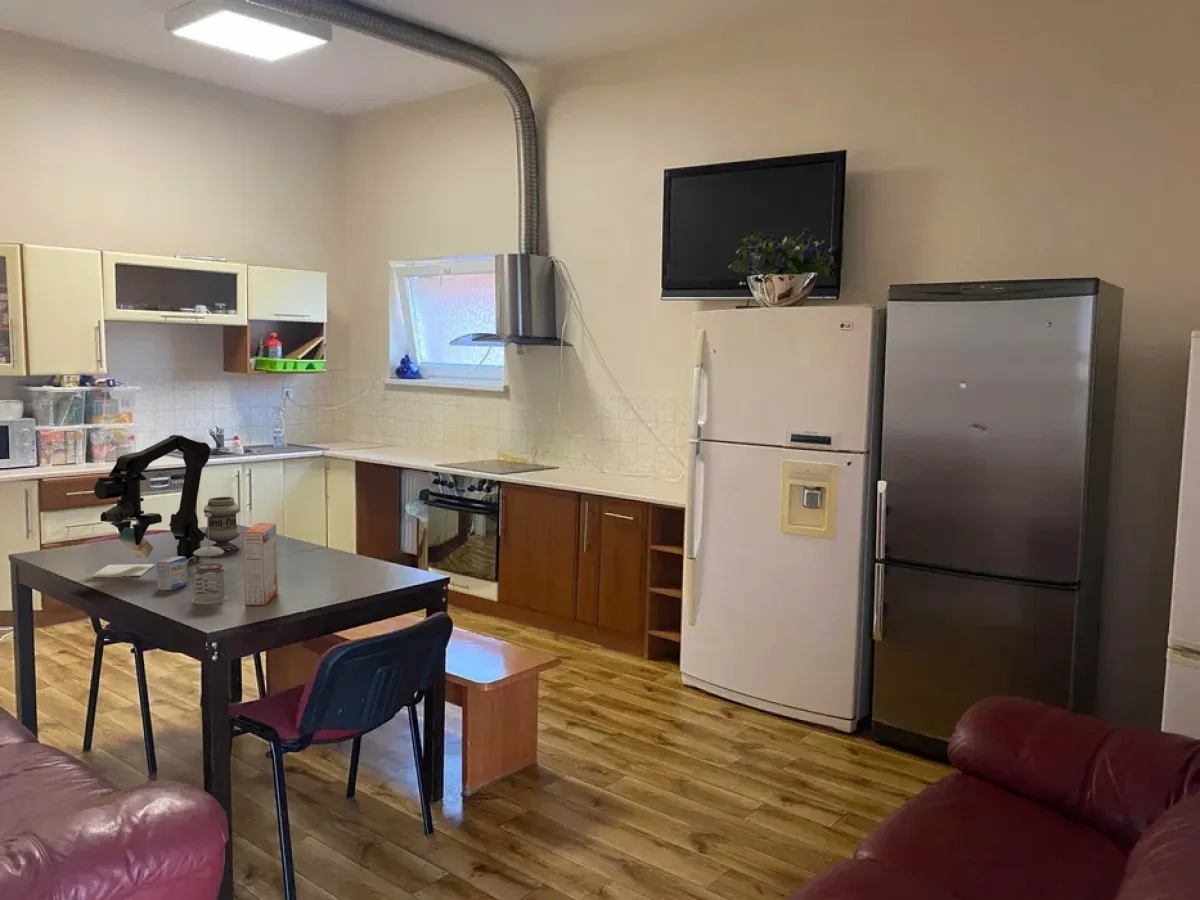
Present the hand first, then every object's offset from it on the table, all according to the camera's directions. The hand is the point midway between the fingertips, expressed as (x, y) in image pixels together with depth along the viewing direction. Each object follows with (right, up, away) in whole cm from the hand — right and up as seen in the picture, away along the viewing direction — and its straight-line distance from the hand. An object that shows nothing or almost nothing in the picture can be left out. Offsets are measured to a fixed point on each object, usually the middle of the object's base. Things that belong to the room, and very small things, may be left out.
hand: (131, 544), depth 297 cm
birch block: (+1, -3, +6) cm, 7 cm away
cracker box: (+52, -13, -30) cm, 61 cm away
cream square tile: (-2, -9, -1) cm, 9 cm away
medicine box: (+21, -11, -19) cm, 30 cm away
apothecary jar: (+14, -5, +36) cm, 39 cm away
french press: (+37, -13, -31) cm, 50 cm away
